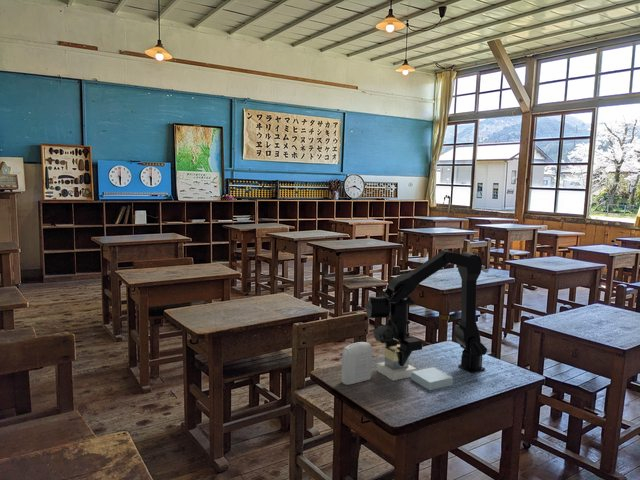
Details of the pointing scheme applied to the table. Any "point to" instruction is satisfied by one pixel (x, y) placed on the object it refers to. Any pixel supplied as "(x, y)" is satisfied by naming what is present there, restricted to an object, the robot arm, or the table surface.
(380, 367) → the stand
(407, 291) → the robot arm
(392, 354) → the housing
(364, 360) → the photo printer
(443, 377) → the stand
